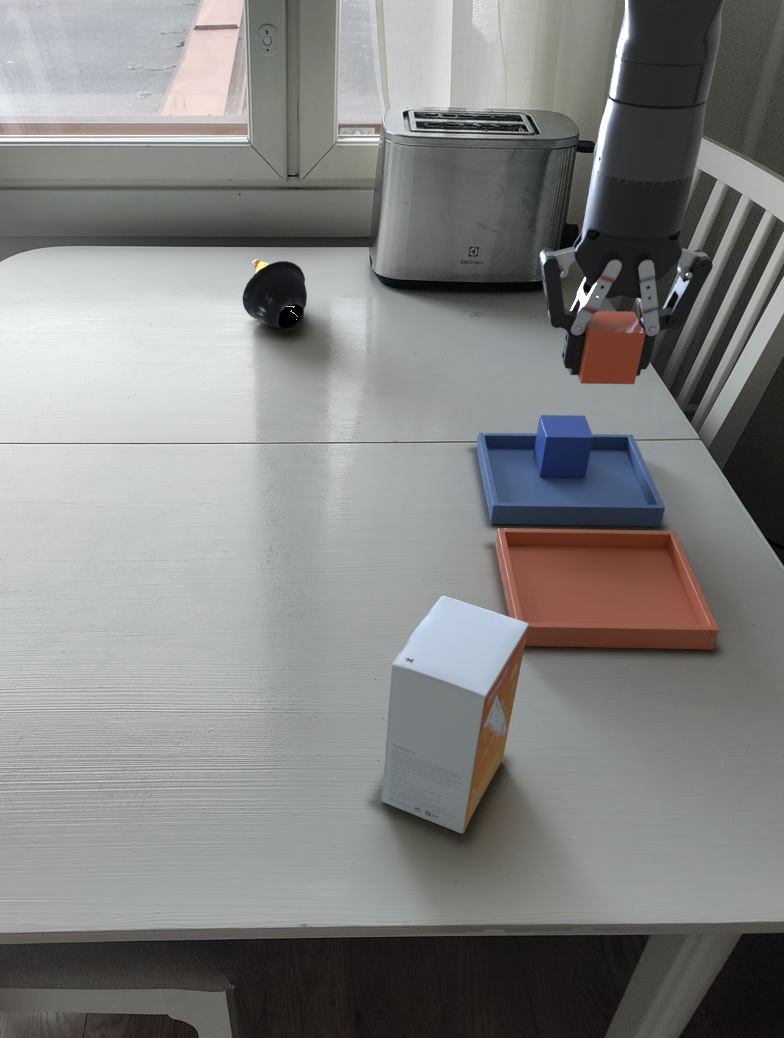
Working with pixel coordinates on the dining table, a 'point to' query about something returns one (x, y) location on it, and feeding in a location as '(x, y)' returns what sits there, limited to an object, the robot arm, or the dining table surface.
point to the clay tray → (603, 589)
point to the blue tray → (567, 484)
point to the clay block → (611, 348)
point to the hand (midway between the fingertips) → (603, 370)
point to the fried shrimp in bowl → (276, 294)
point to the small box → (451, 711)
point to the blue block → (562, 446)
